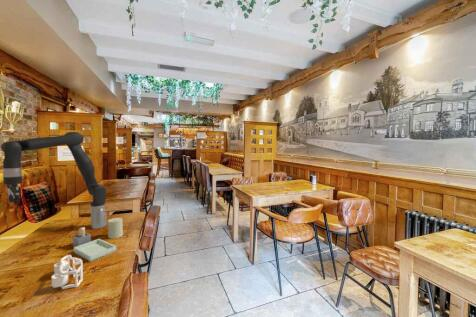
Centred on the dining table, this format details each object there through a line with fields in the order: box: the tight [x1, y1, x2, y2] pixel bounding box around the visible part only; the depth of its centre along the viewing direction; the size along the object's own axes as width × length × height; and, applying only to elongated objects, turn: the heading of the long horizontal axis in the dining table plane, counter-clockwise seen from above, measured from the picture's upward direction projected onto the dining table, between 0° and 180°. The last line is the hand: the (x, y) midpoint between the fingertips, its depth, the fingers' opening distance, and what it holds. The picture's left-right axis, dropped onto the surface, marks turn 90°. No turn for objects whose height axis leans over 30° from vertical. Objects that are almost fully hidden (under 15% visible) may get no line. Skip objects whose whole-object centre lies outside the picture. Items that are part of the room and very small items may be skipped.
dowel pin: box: [77, 227, 86, 238], centre depth 132 cm, size 3×3×10 cm
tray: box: [73, 238, 117, 263], centre depth 124 cm, size 14×20×3 cm
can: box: [107, 217, 124, 240], centre depth 146 cm, size 9×9×12 cm
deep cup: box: [72, 231, 92, 248], centre depth 132 cm, size 7×7×6 cm
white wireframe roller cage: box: [51, 254, 84, 290], centre depth 99 cm, size 20×11×7 cm, turn 37°
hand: (14, 203), depth 121 cm, fingers open, 8 cm apart
